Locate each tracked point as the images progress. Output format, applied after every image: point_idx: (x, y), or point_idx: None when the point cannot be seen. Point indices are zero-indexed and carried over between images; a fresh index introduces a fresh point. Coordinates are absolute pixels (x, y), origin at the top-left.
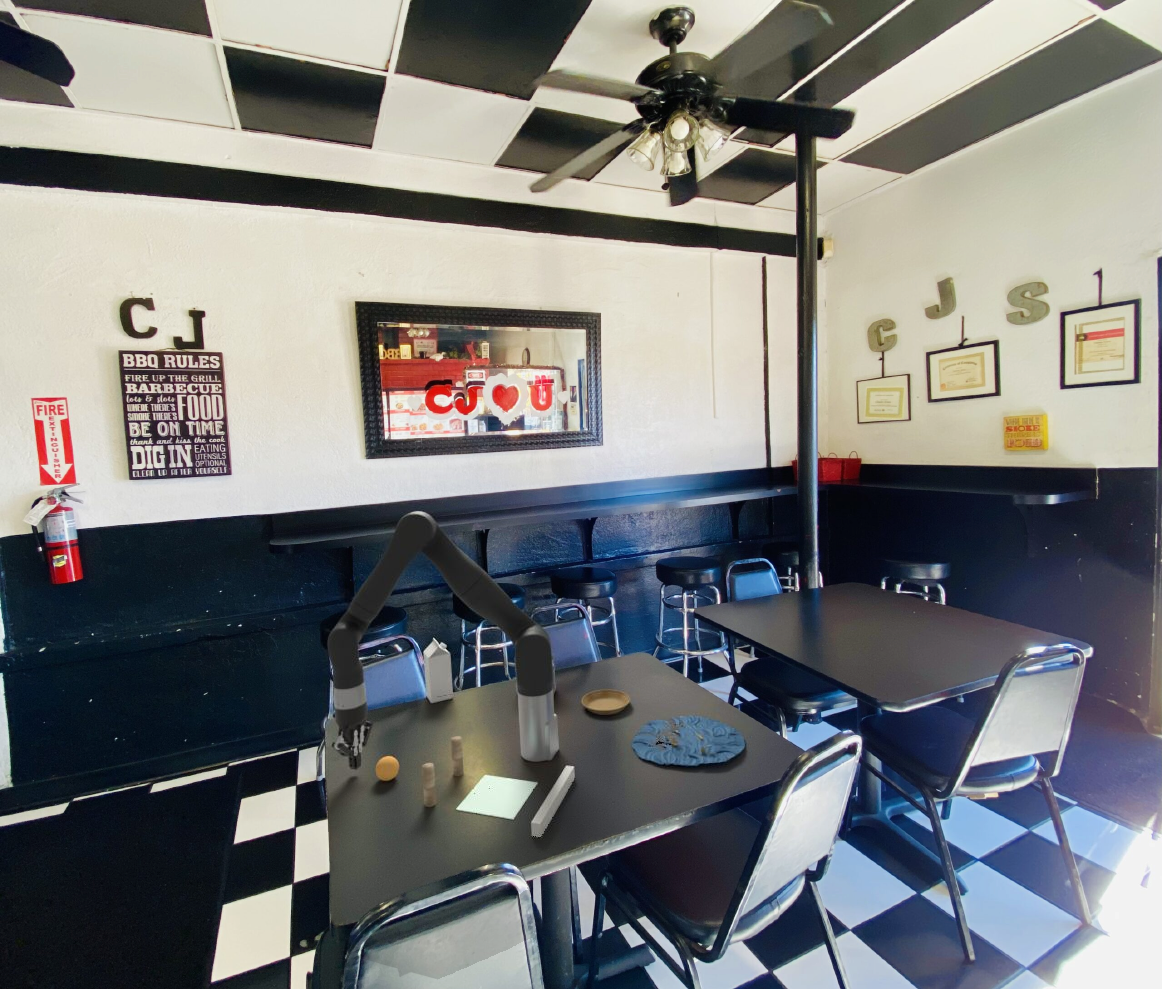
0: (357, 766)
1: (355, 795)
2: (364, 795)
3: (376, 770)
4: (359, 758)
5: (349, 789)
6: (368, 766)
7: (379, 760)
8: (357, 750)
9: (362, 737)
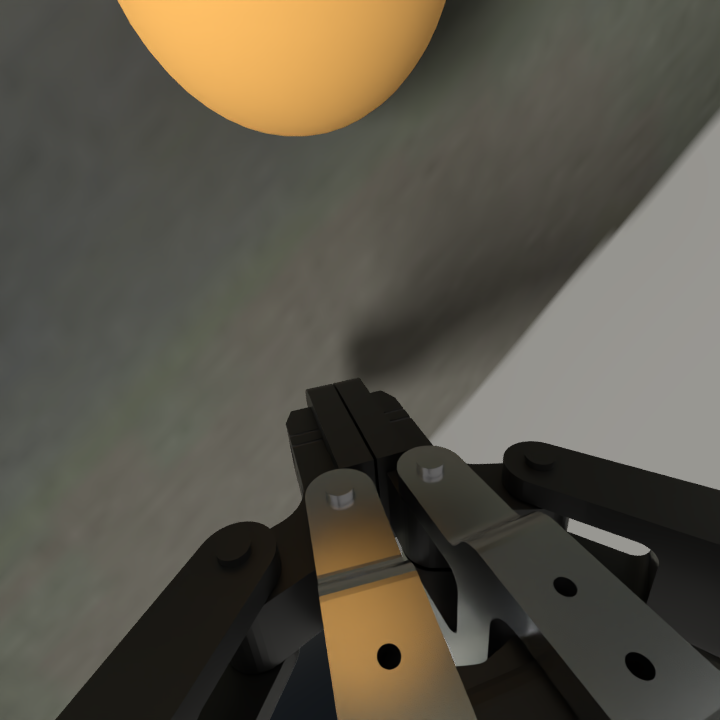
0: (360, 386)
1: (548, 151)
2: (541, 65)
3: (431, 36)
4: (339, 429)
5: (492, 265)
6: (187, 393)
7: (346, 53)
8: (409, 492)
9: (369, 678)
